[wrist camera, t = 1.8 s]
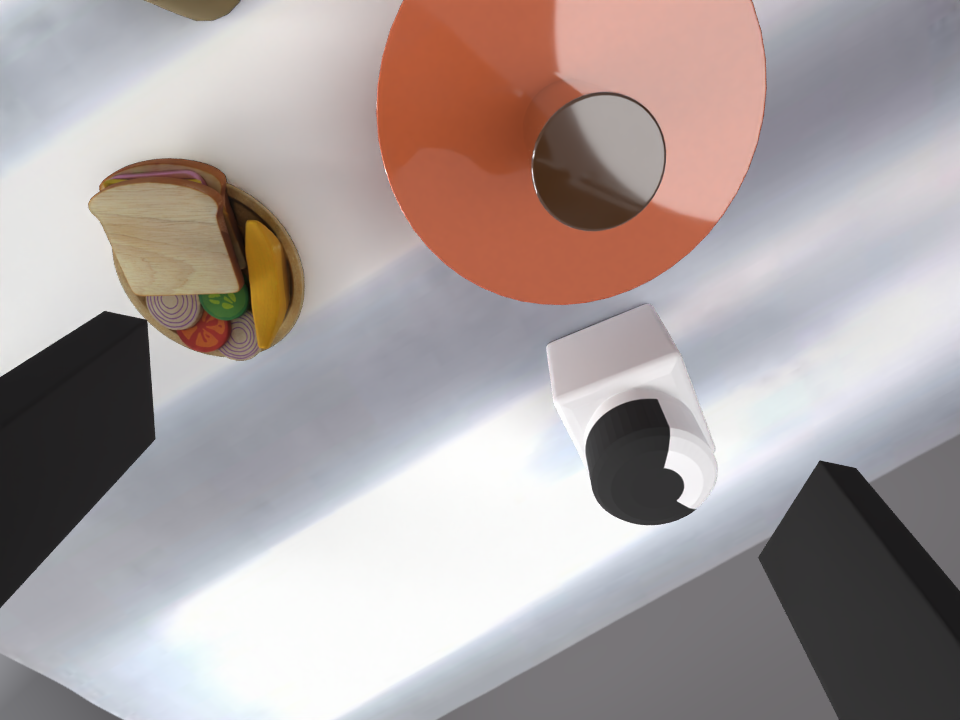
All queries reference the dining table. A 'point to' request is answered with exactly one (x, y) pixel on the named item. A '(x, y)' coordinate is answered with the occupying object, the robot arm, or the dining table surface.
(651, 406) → the container
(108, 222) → the toy sandwich meal
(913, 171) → the dining table surface
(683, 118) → the lid
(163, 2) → the olive pawn figure
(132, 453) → the robot arm
